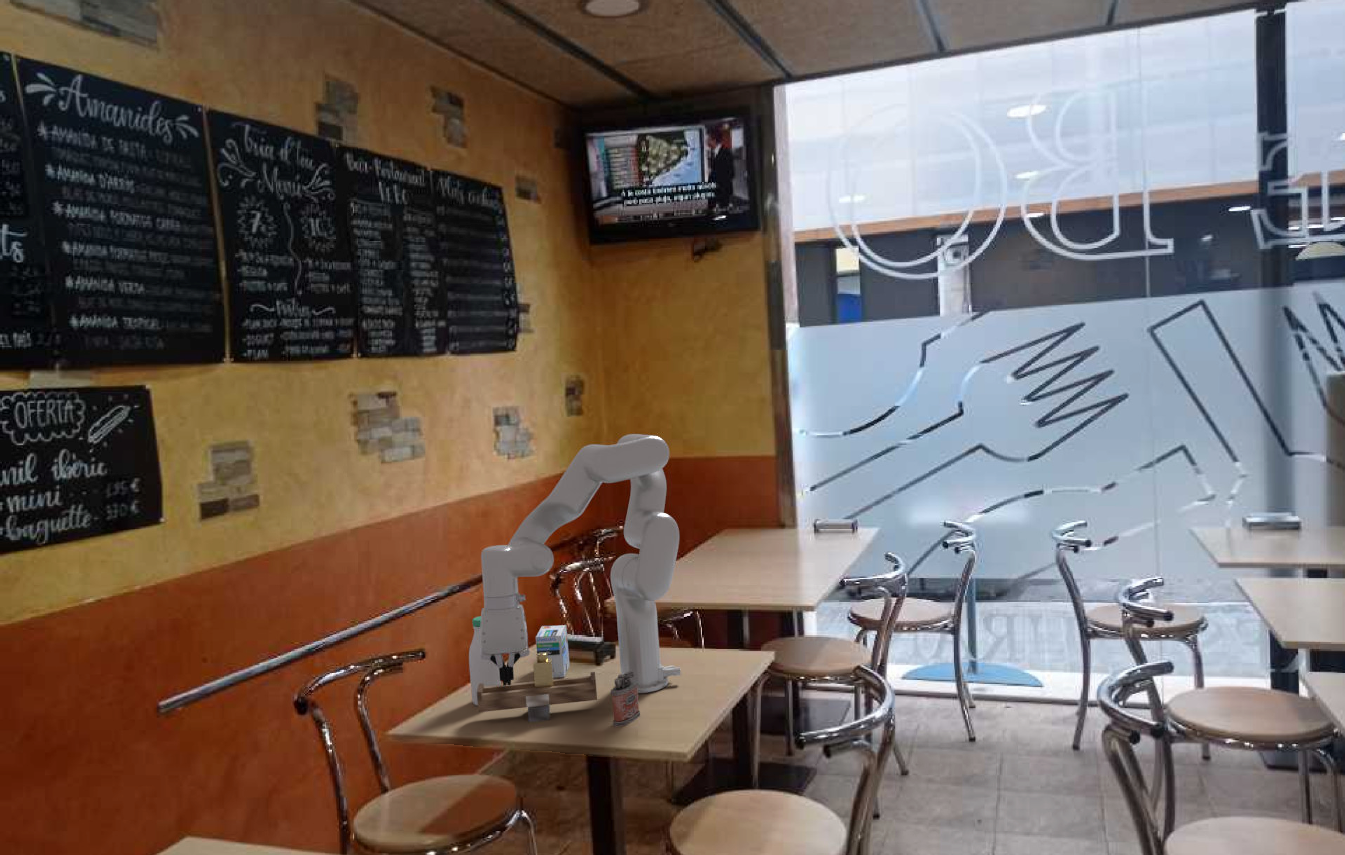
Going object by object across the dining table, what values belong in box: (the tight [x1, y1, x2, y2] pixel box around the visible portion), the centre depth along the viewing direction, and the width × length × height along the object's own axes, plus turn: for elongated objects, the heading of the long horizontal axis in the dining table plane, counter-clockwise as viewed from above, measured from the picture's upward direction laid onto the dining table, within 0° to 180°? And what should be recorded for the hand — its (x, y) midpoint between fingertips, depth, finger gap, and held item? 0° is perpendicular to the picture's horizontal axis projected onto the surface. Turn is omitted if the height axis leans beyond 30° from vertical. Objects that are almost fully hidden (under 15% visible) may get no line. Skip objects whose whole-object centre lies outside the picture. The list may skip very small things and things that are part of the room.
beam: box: [477, 671, 598, 723], centre depth 222 cm, size 26×8×8 cm, turn 96°
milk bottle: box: [468, 615, 503, 707], centre depth 234 cm, size 8×8×20 cm
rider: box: [532, 652, 554, 688], centre depth 222 cm, size 4×3×8 cm
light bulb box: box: [535, 624, 570, 679], centre depth 253 cm, size 11×7×11 cm, turn 179°
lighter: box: [610, 671, 641, 727], centre depth 215 cm, size 8×3×10 cm, turn 148°
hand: (507, 683), depth 221 cm, fingers closed
